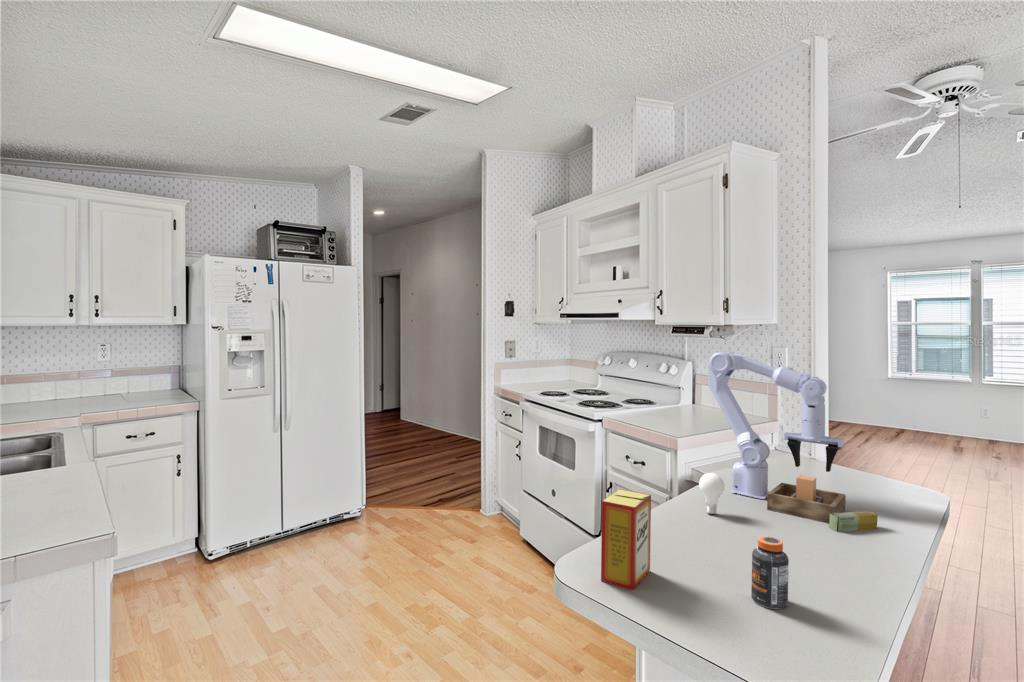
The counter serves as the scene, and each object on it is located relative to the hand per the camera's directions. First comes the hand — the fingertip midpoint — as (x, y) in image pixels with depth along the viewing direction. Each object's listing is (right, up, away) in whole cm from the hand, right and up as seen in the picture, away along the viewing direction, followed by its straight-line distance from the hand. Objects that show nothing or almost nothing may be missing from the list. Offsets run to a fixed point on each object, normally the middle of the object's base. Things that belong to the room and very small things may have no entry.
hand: (812, 468), depth 146 cm
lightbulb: (-32, -11, -8) cm, 34 cm away
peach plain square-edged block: (-4, -9, -4) cm, 11 cm away
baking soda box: (-62, -11, -43) cm, 77 cm away
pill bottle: (-38, -11, -53) cm, 66 cm away
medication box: (0, -11, -17) cm, 20 cm away
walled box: (-4, -10, -4) cm, 12 cm away
